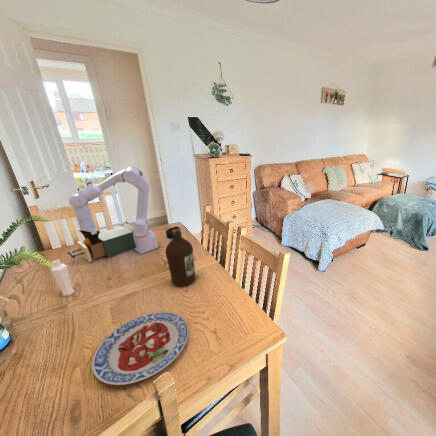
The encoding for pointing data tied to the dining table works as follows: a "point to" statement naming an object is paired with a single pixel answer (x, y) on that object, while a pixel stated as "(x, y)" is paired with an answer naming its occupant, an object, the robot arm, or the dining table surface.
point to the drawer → (89, 250)
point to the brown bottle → (180, 260)
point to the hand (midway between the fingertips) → (92, 243)
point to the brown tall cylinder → (170, 234)
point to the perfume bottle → (62, 277)
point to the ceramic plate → (140, 348)
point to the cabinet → (117, 241)
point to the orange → (88, 242)
